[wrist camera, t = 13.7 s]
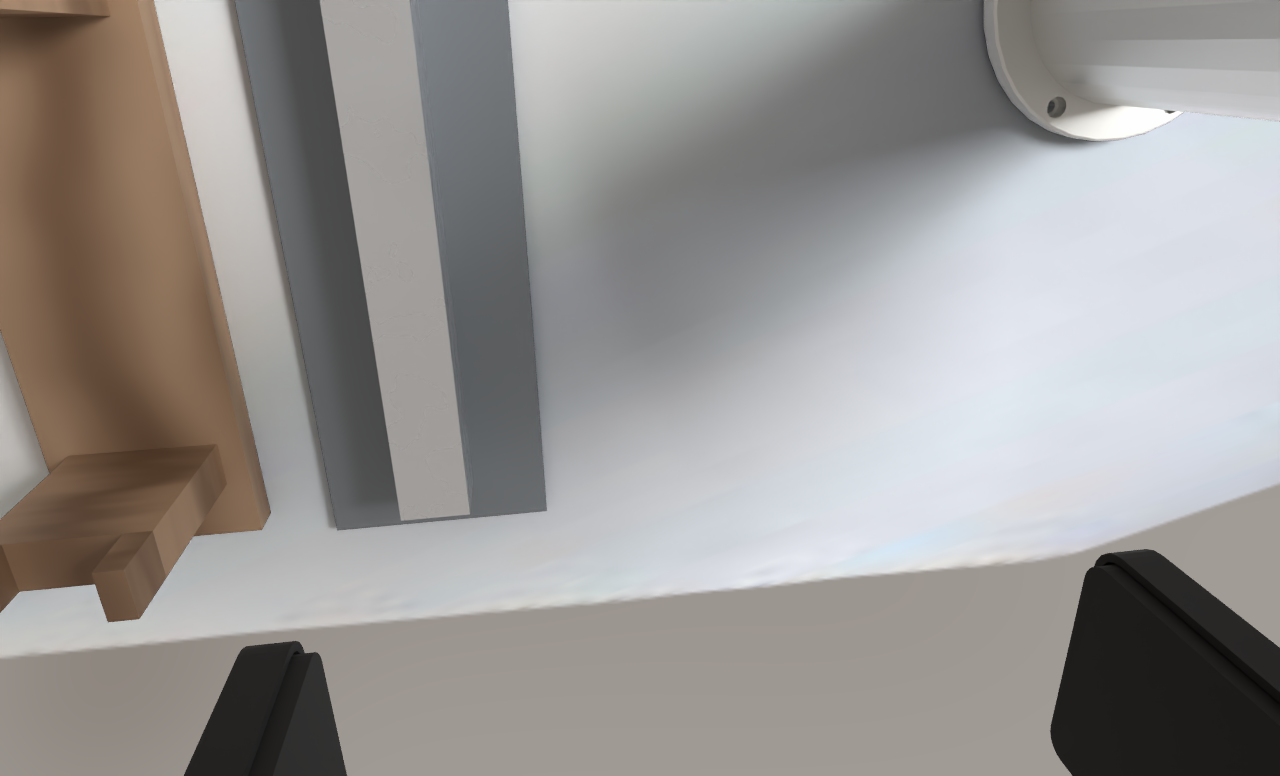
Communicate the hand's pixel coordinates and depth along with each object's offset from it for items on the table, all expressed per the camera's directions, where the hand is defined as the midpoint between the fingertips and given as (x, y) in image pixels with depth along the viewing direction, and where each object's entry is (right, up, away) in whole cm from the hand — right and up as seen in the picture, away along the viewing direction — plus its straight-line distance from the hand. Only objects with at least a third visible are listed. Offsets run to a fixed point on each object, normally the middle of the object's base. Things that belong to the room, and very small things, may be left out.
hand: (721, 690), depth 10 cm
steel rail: (-11, +10, +25) cm, 29 cm away
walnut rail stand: (-23, +9, +24) cm, 34 cm away
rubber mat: (-11, +10, +25) cm, 29 cm away
